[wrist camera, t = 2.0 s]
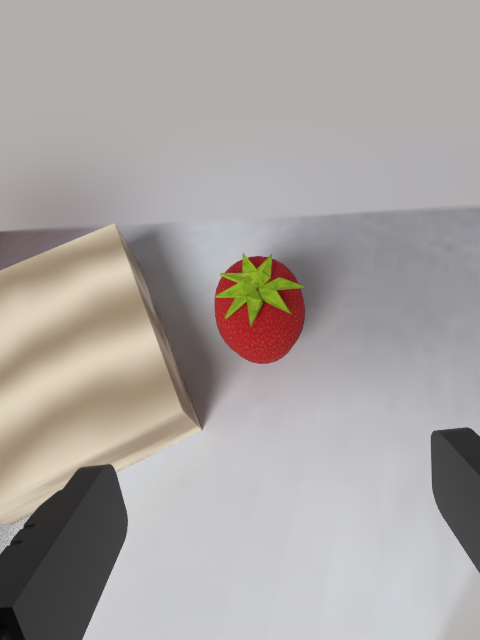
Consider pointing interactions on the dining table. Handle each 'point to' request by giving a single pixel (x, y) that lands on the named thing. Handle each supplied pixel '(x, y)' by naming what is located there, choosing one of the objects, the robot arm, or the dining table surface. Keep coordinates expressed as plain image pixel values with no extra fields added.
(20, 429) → the birch stand
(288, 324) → the strawberry
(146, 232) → the dining table surface
